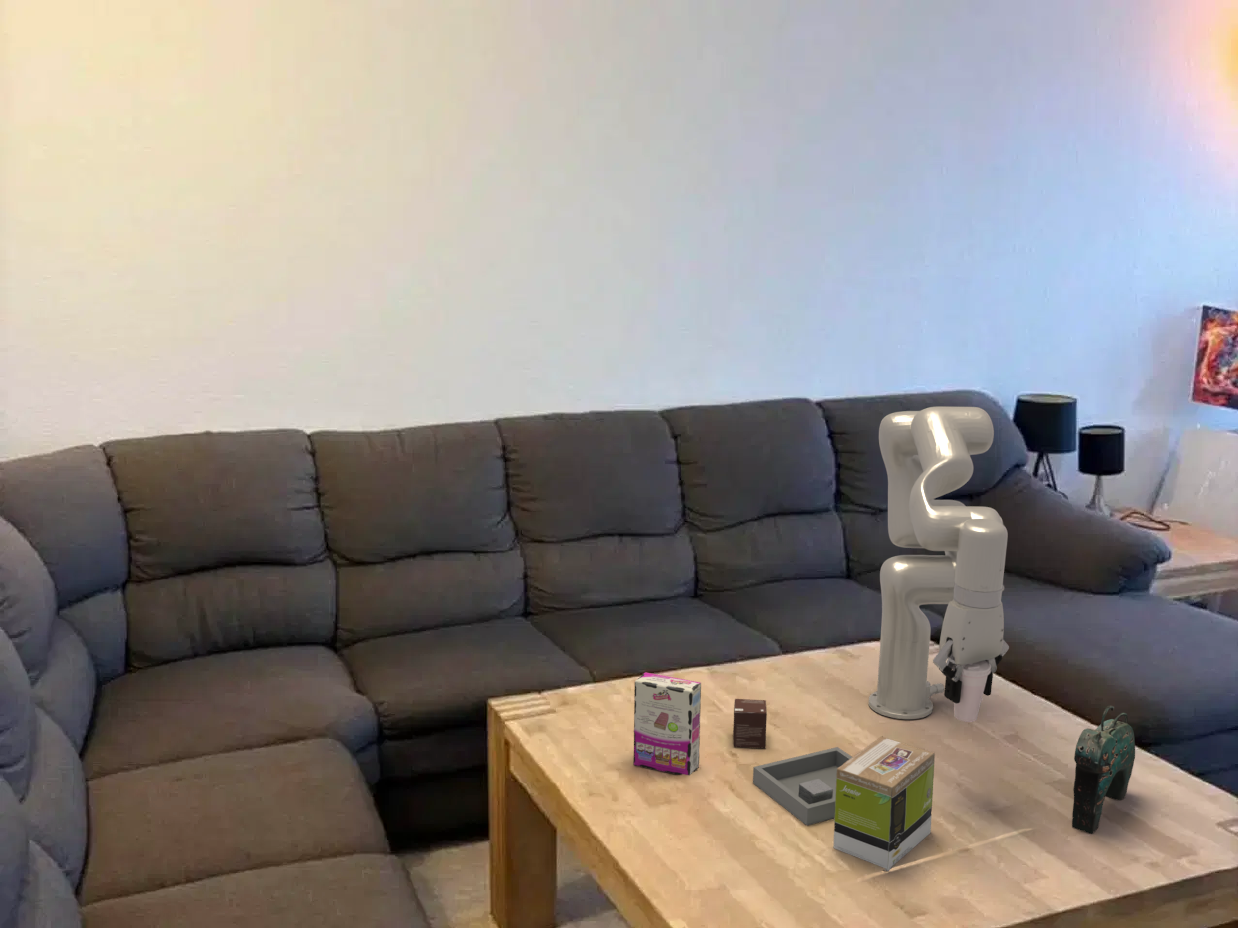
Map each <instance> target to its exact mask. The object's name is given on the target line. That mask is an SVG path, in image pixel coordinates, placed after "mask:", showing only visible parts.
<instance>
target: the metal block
mask: <svg viewBox="0 0 1238 928" xmlns="http://www.w3.org/2000/svg"><path fill="white" fill-rule="evenodd" d="M798 796H799V797H800V798H801V799H802V800H804V801H805V802H806V803H808V804H813V803H817V802H821V801H824V800H828V799H832V798H833V789H832V788H831V787H829V786H828V785H826V784H825V783H824V782H822V781H821V780H820V779H816V780H812V781H808V782H804V783H800V784H799V795H798Z"/></svg>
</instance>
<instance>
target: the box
mask: <svg viewBox="0 0 1238 928" xmlns="http://www.w3.org/2000/svg"><path fill="white" fill-rule="evenodd" d="M733 706H734V707H733V728H732V729H733V731H732V734H733V735H732V736H733V748H749V749H763V750H764V749H766V743H767V740H766V739H767V721H768V720H767V719H768V718H767V715H768V713H767V710H768V709H767V700H766V699H745V698H734V703H733Z"/></svg>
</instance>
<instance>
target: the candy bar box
mask: <svg viewBox="0 0 1238 928" xmlns="http://www.w3.org/2000/svg"><path fill="white" fill-rule="evenodd" d="M701 699H702V682H700V681H696V680H695V681H694V680H688V679H684V678H678V677H674V676H673V677H672V676H667V675H663V674H656V673H651V672H646V671H645V672H644V673H642V675H640V676H639V677H638V678H637V679H636V680H635V681H634V707H633V709H634V710H633V711H634V714H633V715H634V717H633V720H634V721H633V757H632V758H633V760H632V761H633V765H634V766H635V767H641V768H644V769H650V770H655V771H657V772H664V773H668V774H672V775H677V776H682V775H685V776H691V774H692V773H694V772H696V771H698V768H699V767H700V745H701V744H700V740H701V738H700V737H701V736H700V734H701V704H702V703H701V702H702V701H701Z"/></svg>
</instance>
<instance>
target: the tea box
mask: <svg viewBox="0 0 1238 928" xmlns="http://www.w3.org/2000/svg"><path fill="white" fill-rule="evenodd" d="M935 757H936V754H935V752H933V751H929V750H928V749H927V750H926V749H924V748H919V747H916V746H912V745H909V744H906V743H904V742H899V741H897V740H893V739H889V738H886V737H884V736H883V735H882V736H880V737H878V738H877V739H876V740H874V741H872V742H871V743H870V744H869V745H867V746H866V747H865V748H863V749H862V750H860V751H859V752H858V753H856V754H855V755H854V756H852V758H851V759H849V760H848V761H847V762H845V763H844V764H843V765H842V766H840V767H838V768H837V774H836V796H835V818H833V819H834V820H833V821H834V822H833V823H834V825H833V826H834V827H833V847H832V848H833V849H835V850H837V851H841V852H843V853H845V854H848V855H850V856H853V857H856V858H859V859H860V860H863V861H865V862H867V863H871V864H874V865H875V866H878V867H880V868H883V871H885V872H889V871H891V869H892V868H893V866H894V865H896V863H898V861H900V860H901V859H903V858H904V857H905V856H906V855H907V854H908V853H909V852H910V851H912V850H913V848H915V847H916V846H917V845H919V844H920V843H921V842H922V841H923V840H924V839H926V837H928V836H929V835H930V834H931V831H932V810H933V794H934V775H935Z"/></svg>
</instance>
